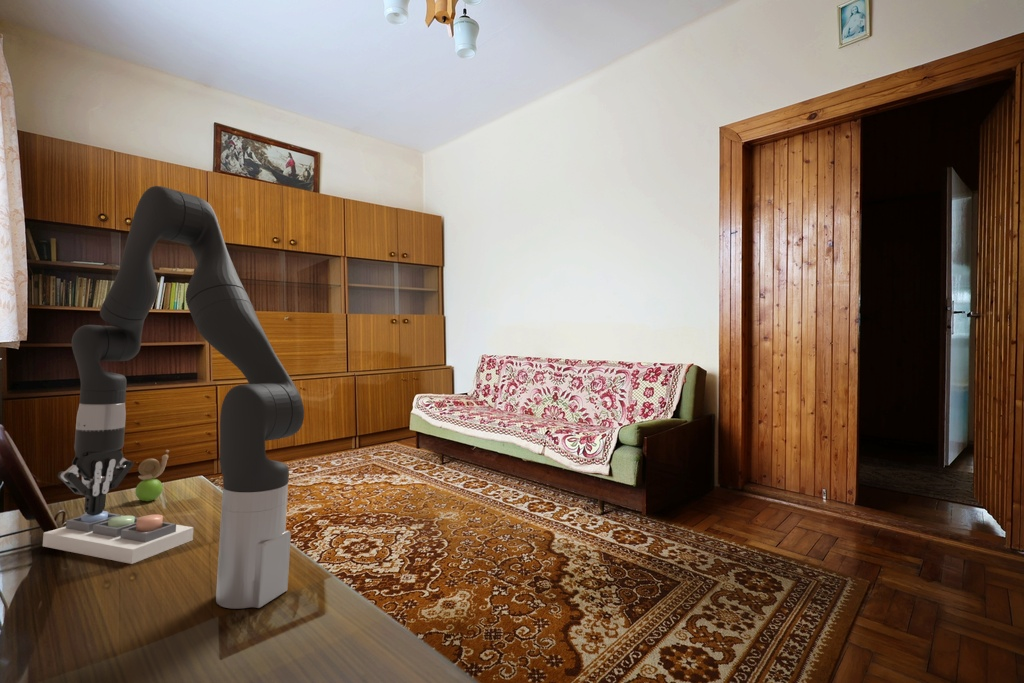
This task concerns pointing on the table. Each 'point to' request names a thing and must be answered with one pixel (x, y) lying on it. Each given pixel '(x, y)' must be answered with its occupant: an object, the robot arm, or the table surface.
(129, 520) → the sage button
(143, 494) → the snail figurine
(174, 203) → the robot arm
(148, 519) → the salmon button
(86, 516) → the slate button
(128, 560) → the button panel
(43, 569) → the table surface
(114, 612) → the table surface
